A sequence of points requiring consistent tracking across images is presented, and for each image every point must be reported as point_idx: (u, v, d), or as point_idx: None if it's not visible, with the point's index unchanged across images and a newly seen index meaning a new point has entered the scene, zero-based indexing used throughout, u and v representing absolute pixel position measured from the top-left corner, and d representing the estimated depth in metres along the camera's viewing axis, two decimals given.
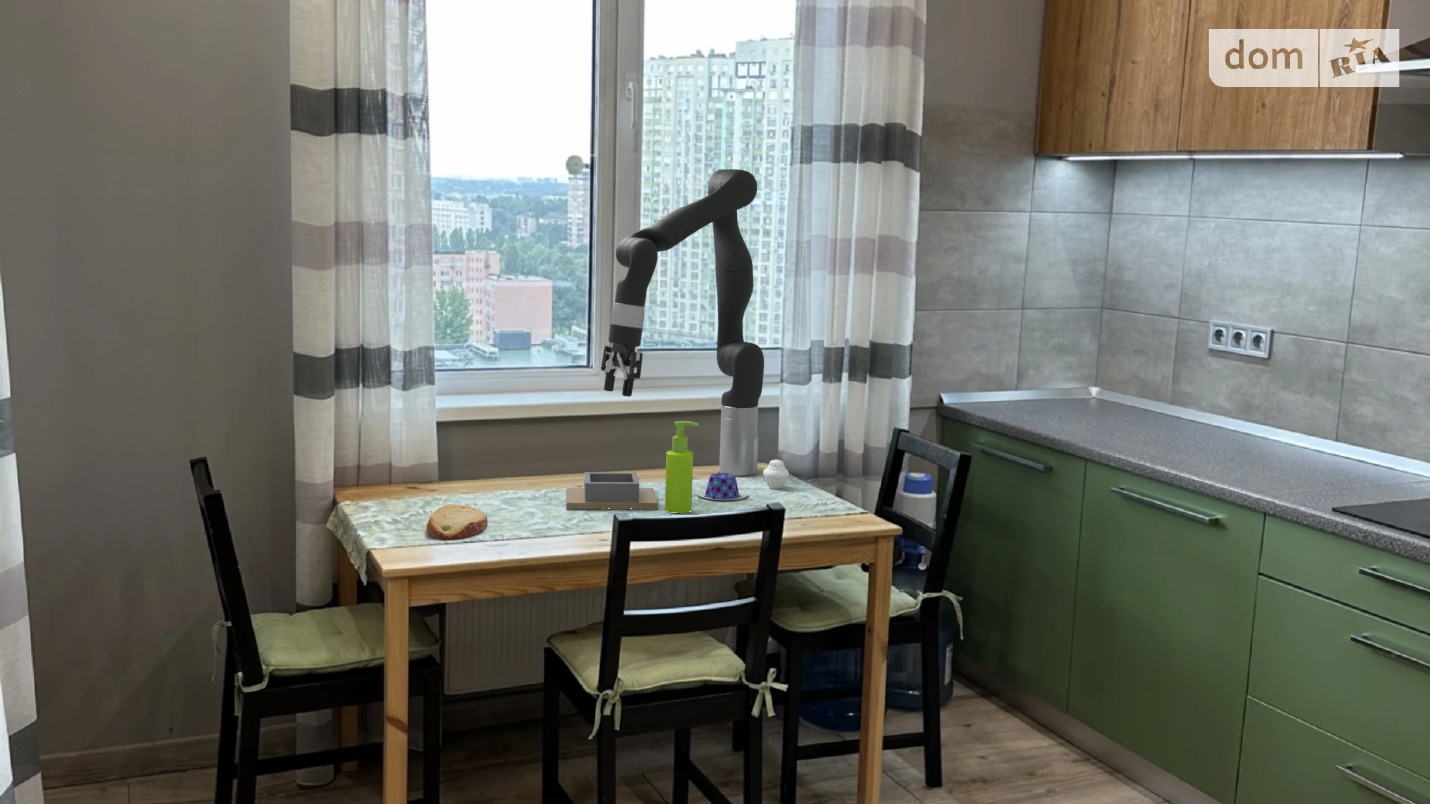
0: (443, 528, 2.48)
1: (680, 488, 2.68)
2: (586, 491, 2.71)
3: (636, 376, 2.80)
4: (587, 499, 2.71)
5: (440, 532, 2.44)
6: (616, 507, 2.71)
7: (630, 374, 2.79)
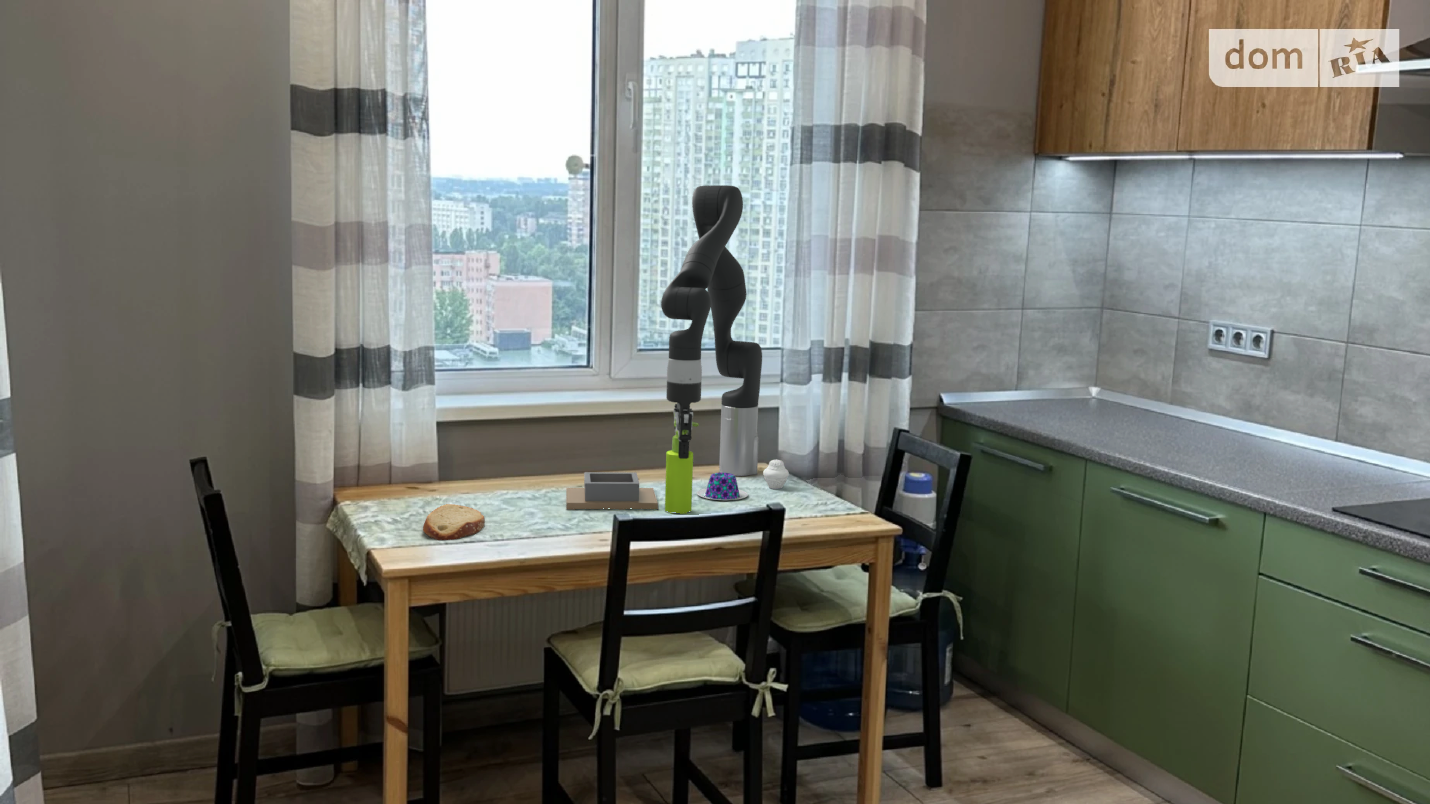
0: (439, 528, 2.48)
1: (680, 488, 2.68)
2: (586, 491, 2.71)
3: (686, 438, 2.63)
4: (587, 499, 2.71)
5: (436, 532, 2.44)
6: (616, 507, 2.71)
7: (679, 437, 2.63)
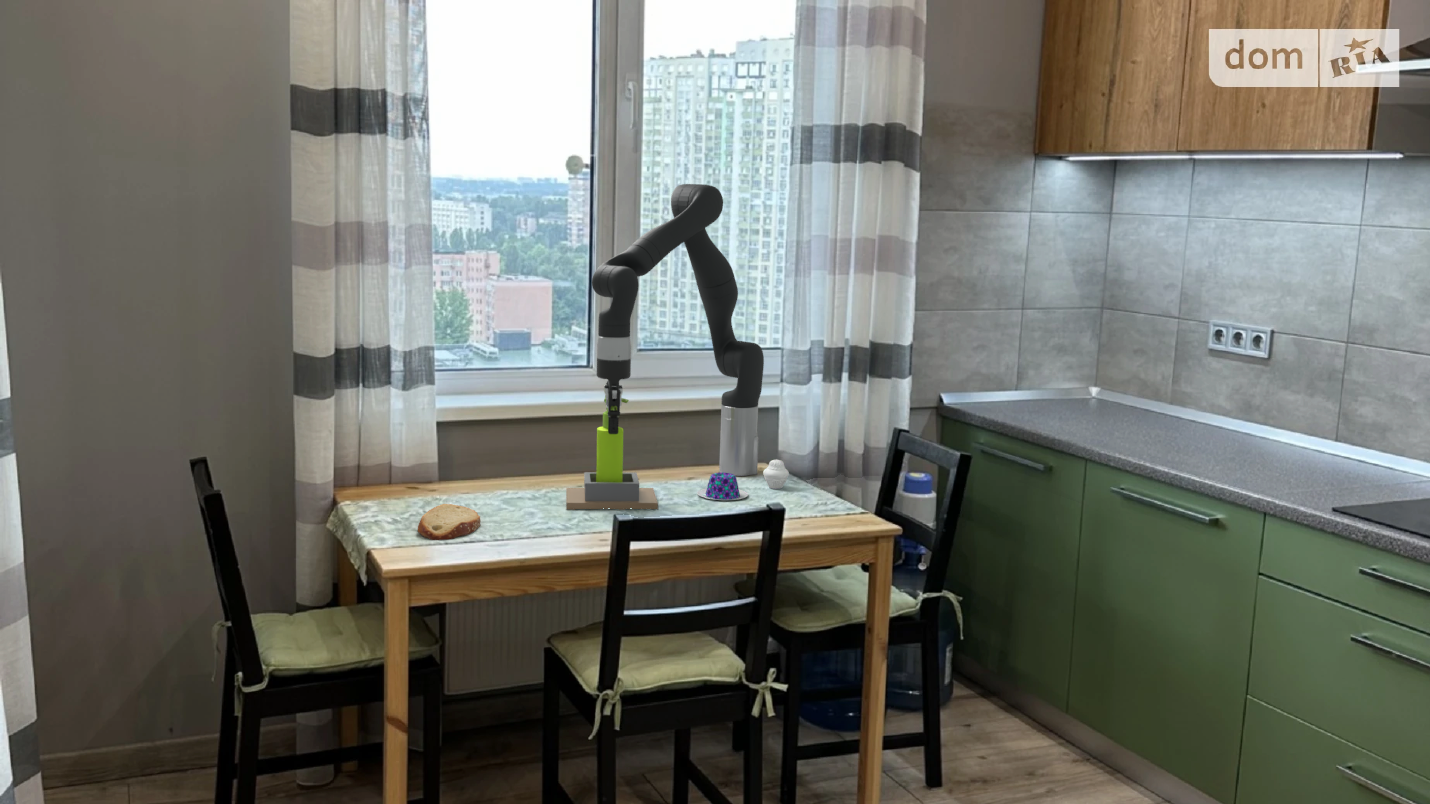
0: (434, 528, 2.48)
1: (610, 463, 2.73)
2: (586, 491, 2.71)
3: (614, 414, 2.68)
4: (587, 499, 2.71)
5: (430, 532, 2.44)
6: (616, 507, 2.71)
7: (608, 412, 2.69)
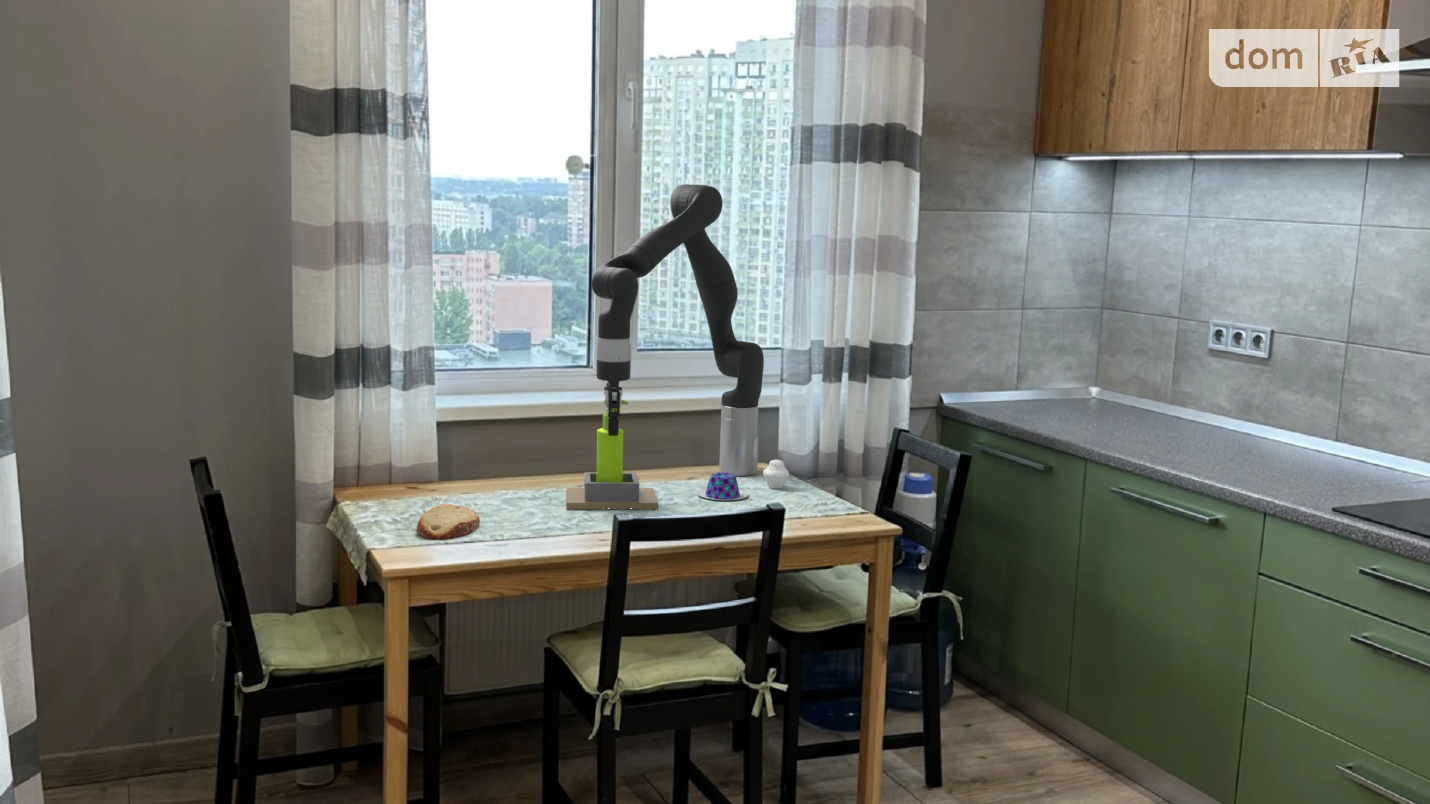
0: (433, 528, 2.48)
1: (610, 464, 2.73)
2: (586, 491, 2.71)
3: (614, 416, 2.69)
4: (587, 499, 2.71)
5: (429, 532, 2.44)
6: (616, 507, 2.71)
7: (608, 414, 2.69)
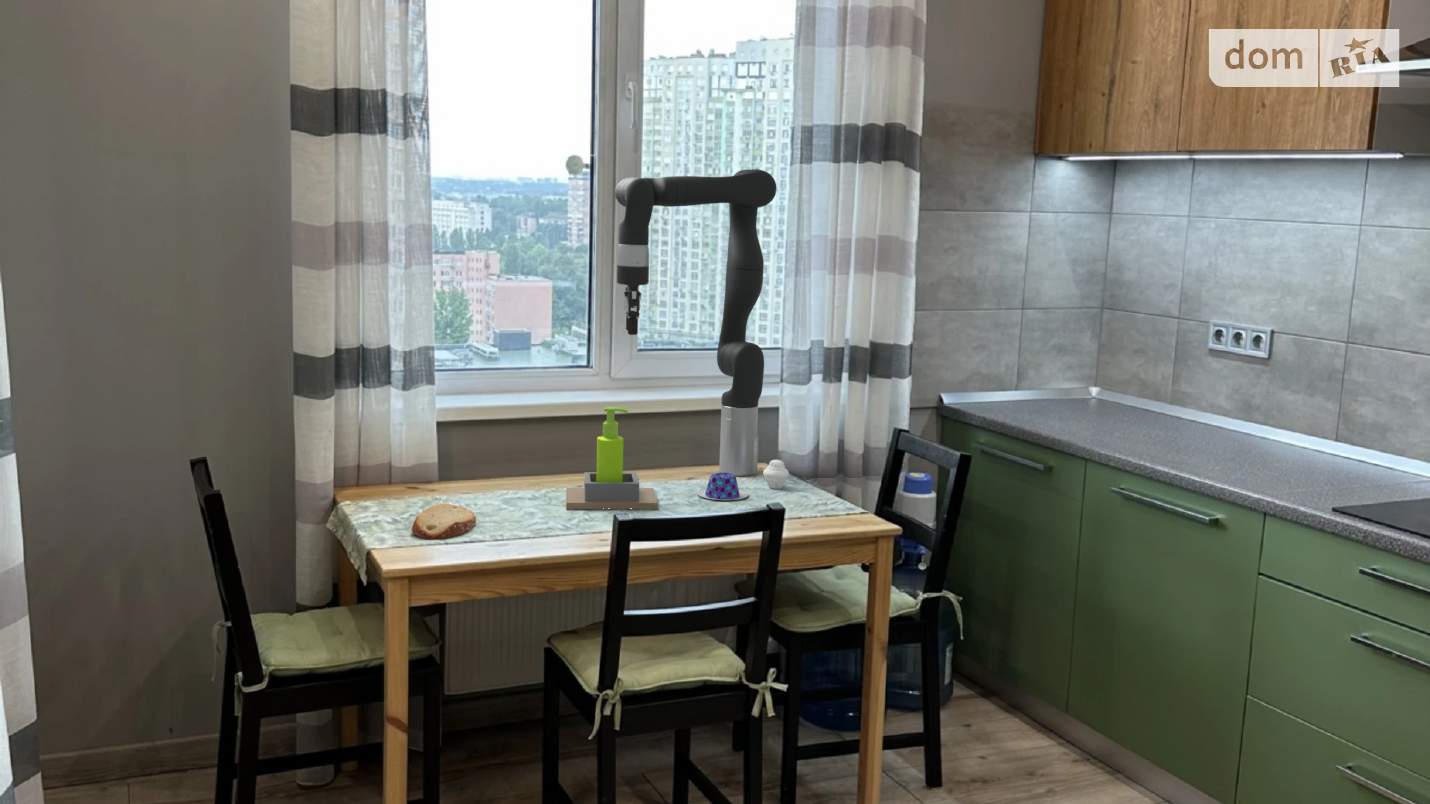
0: (428, 527, 2.48)
1: (610, 472, 2.74)
2: (586, 491, 2.71)
3: (634, 314, 2.84)
4: (587, 499, 2.71)
5: (424, 531, 2.44)
6: (616, 507, 2.71)
7: (628, 313, 2.84)
